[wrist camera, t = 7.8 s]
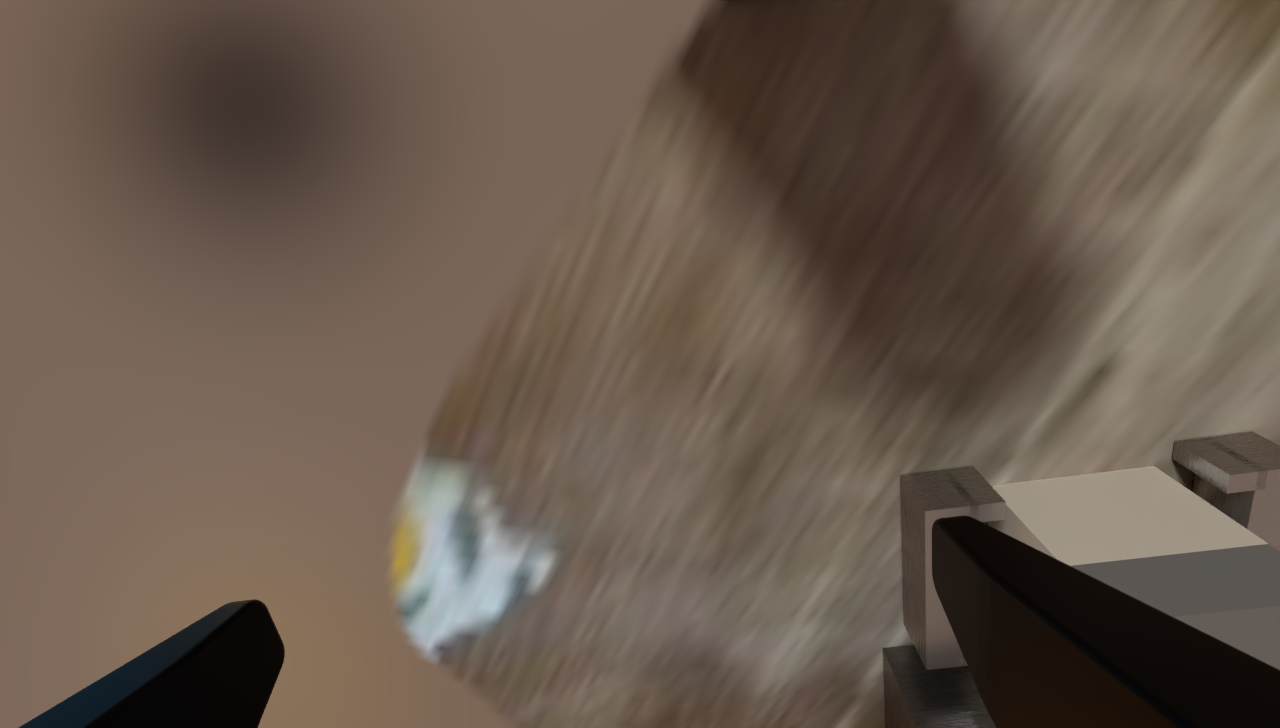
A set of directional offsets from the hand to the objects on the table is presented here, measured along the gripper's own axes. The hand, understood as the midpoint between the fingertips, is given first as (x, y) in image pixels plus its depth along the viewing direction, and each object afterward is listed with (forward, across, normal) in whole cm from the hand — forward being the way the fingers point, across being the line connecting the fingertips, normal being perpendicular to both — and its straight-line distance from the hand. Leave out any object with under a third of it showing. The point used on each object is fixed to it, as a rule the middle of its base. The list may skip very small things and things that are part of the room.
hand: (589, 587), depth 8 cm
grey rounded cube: (+11, -13, +9) cm, 20 cm away
